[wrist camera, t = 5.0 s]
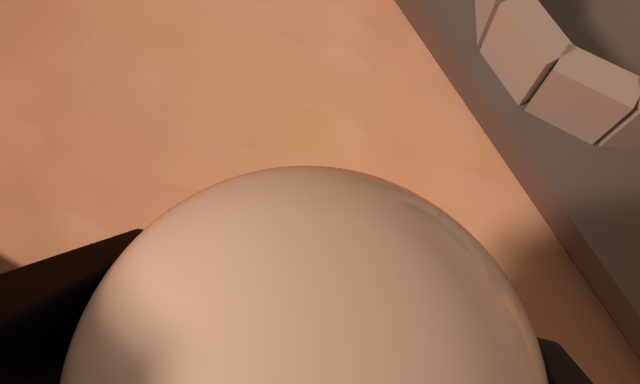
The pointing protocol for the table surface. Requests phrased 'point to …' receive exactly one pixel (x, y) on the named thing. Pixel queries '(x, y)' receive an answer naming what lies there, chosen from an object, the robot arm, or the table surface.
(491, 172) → the table surface
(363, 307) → the lightbulb
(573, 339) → the table surface
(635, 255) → the bulb holder
